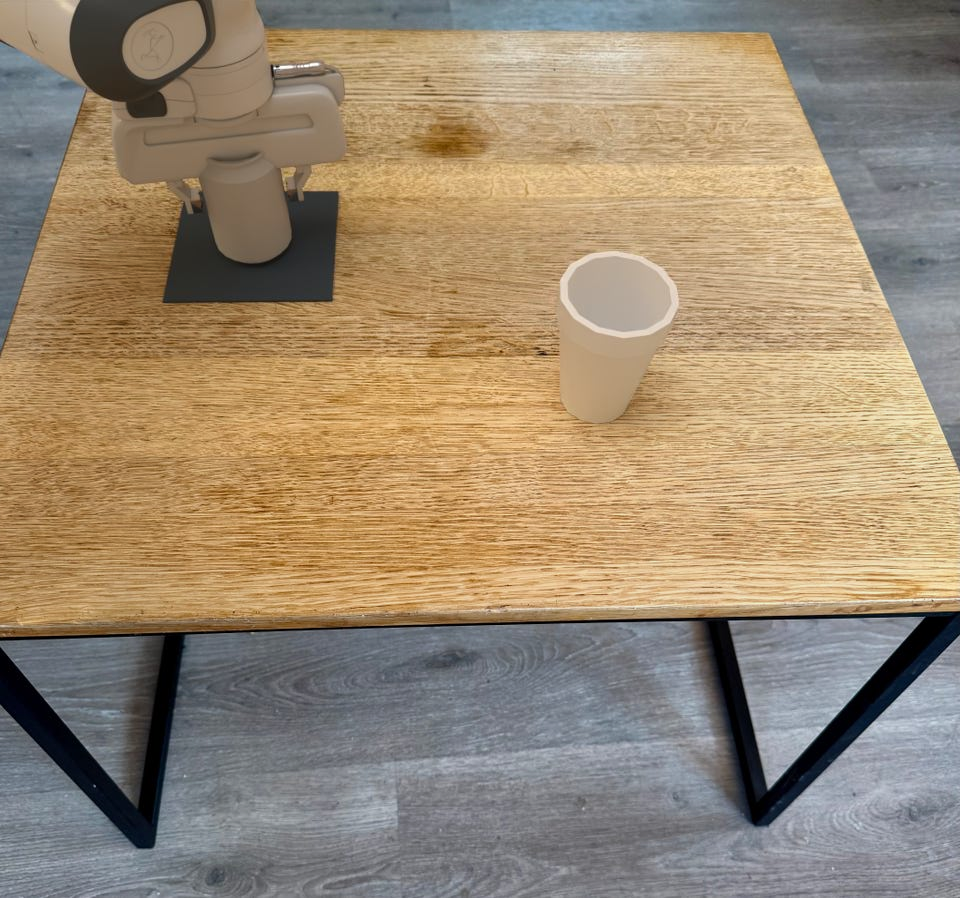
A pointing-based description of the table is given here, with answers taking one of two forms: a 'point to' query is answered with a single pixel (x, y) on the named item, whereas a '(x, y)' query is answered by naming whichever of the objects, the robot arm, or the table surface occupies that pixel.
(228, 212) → the can
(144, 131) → the robot arm
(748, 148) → the table surface
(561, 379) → the foam cup
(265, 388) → the table surface
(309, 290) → the mat
